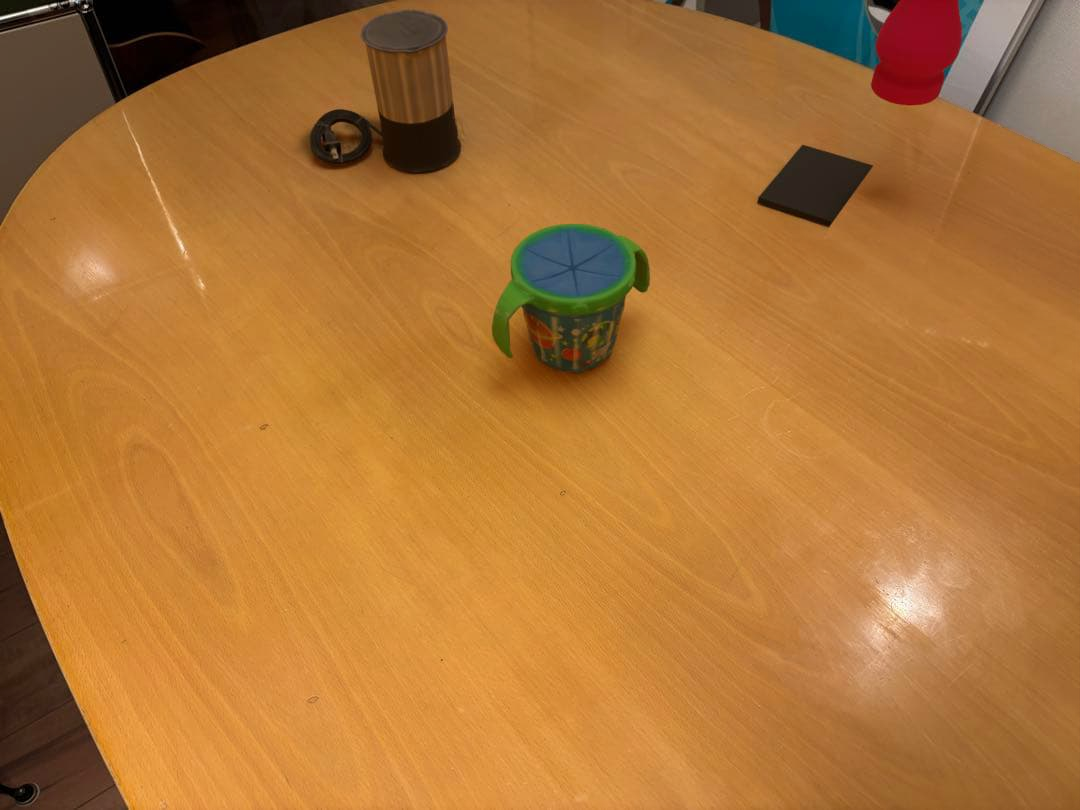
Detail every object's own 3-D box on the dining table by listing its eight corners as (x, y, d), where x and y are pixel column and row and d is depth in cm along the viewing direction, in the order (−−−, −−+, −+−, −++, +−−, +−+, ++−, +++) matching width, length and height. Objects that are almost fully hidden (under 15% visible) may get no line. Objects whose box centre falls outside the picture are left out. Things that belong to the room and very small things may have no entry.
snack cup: (616, 286, 85) (619, 199, 78) (676, 352, 79) (687, 264, 72) (472, 342, 81) (461, 255, 73) (524, 416, 75) (518, 330, 67)
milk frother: (476, 156, 101) (464, 31, 90) (355, 205, 96) (325, 78, 85) (417, 106, 110) (399, -14, 98) (302, 148, 104) (269, 25, 93)
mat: (979, 203, 92) (982, 197, 92) (945, 265, 86) (947, 259, 85) (801, 150, 100) (802, 144, 100) (757, 203, 94) (758, 197, 93)
